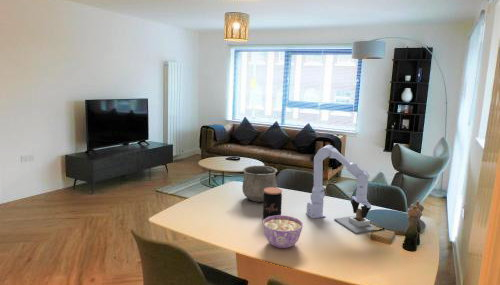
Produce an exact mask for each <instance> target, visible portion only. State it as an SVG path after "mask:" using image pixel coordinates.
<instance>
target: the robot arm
mask: <svg viewBox="0 0 500 285" xmlns="http://www.w3.org/2000/svg"><path fill="white" fill-rule="evenodd" d="M327 158H329V159H336V160H337V161H338V162H339V163H341V164H342V165H344V166H345V167H346V171H347V172H348V173H350V174H351V175H352V176H353V177H354V178H356V181H357V184H356V194H355V195H356V196H355V195H352V196H351V201H350V204H351V205H352V206H351V207H352V211H353V214H356V210H357V209H359V207H360V209H362V218H366V217H367V215H368V213H369V212H370V210H371V209H372V206H371V205H372V204H371V203H370V202H369V201H368V199H367V197H368V196H367V194H368V186H369V182H368V181H369V179H370V174H369V173H368V172H367V171H365V170H364V169H362V168H360V166H358V164H357V163H355V162H350V161H349V160H348V159H347V158H346V157H345V156H344V155H343V154H342V153H340V152H339V150H338V149H337V148H335V147H334V146H333V145H331V144H326V145H325V146H323V147H320V149H318V150H317V153H316V154H315V155H314V157H313V187H312V189H311V194H310V200H311V201H309V202H307V204H306V213H305V214H306V216H308V217H310V218H311V219H316V218H317V219H319V218H325V217H326V215H325V214H324V213H323V212H324V198H325V196H326V193H325V190H324V186H323V178H324V175H323V168H324V167H323V164H324V163H323V161H325V159H327ZM360 205H361V206H360Z"/></svg>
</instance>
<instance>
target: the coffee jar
mask: <svg viewBox="0 0 500 285" xmlns="http://www.w3.org/2000/svg"><path fill="white" fill-rule="evenodd" d="M264 192H265V193H264V200H263V202H262V204H263V205H262V206H263V207H262V219H263V220H264V219H265V218H267V217H270V216H276V215H282V200H283V199H282V198H283V194H282V193H283V190H282V189H281V188H278V187H277V188H274V187H270V188H265V189H264Z"/></svg>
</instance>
